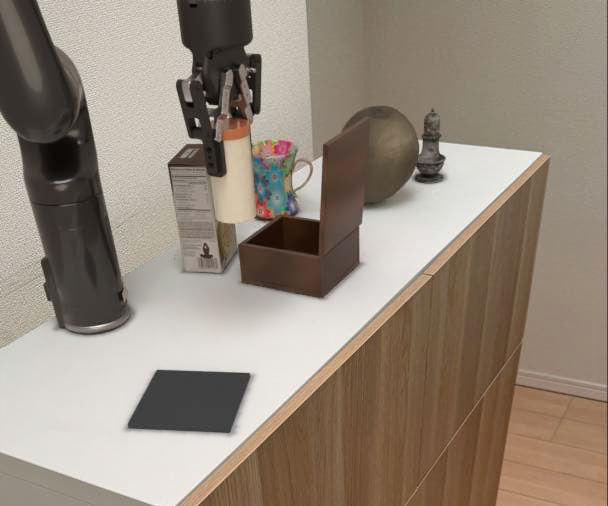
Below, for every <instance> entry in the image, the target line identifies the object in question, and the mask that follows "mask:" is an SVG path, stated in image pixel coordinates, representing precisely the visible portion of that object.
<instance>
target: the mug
mask: <svg viewBox="0 0 608 506" xmlns="http://www.w3.org/2000/svg"><path fill="white" fill-rule="evenodd" d="M251 143H252V155H253V157H252V165H253V178H254V190H255V202H256V217H258V218H261V219H266V220H267V219H269V220H273V219H274V218H276V217H277V216H279V215H280V214H283V215H289V216H293V214H295V213H297V211H298V210H299V207H300V205H299V203H298V201H297V198H298V195H297V193H296V192H298V191H300V190H301V189H303V188H304V187H305V186H306V185H307V184H308V183H309V181H310V180H311V178H312V176H313V172H314V165H313V163H312V161H311V160H310V159H309V158H306V157H300V158H298V159H296V156H297V153H298V151H299V146H298V144H297V143H295V142H293V141H290V140H285V139H268V140H260V141H256V142H251ZM300 162H305V163H306V164H308V166H309V174H308V176H307V178H306V179H305V181H304V182H303V183H302V184H301V185H299V186H297V187H296V188H294V187H293V186H294V185H293V172H294V171H295V168H296V165H297V164H298V163H300Z"/></svg>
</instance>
